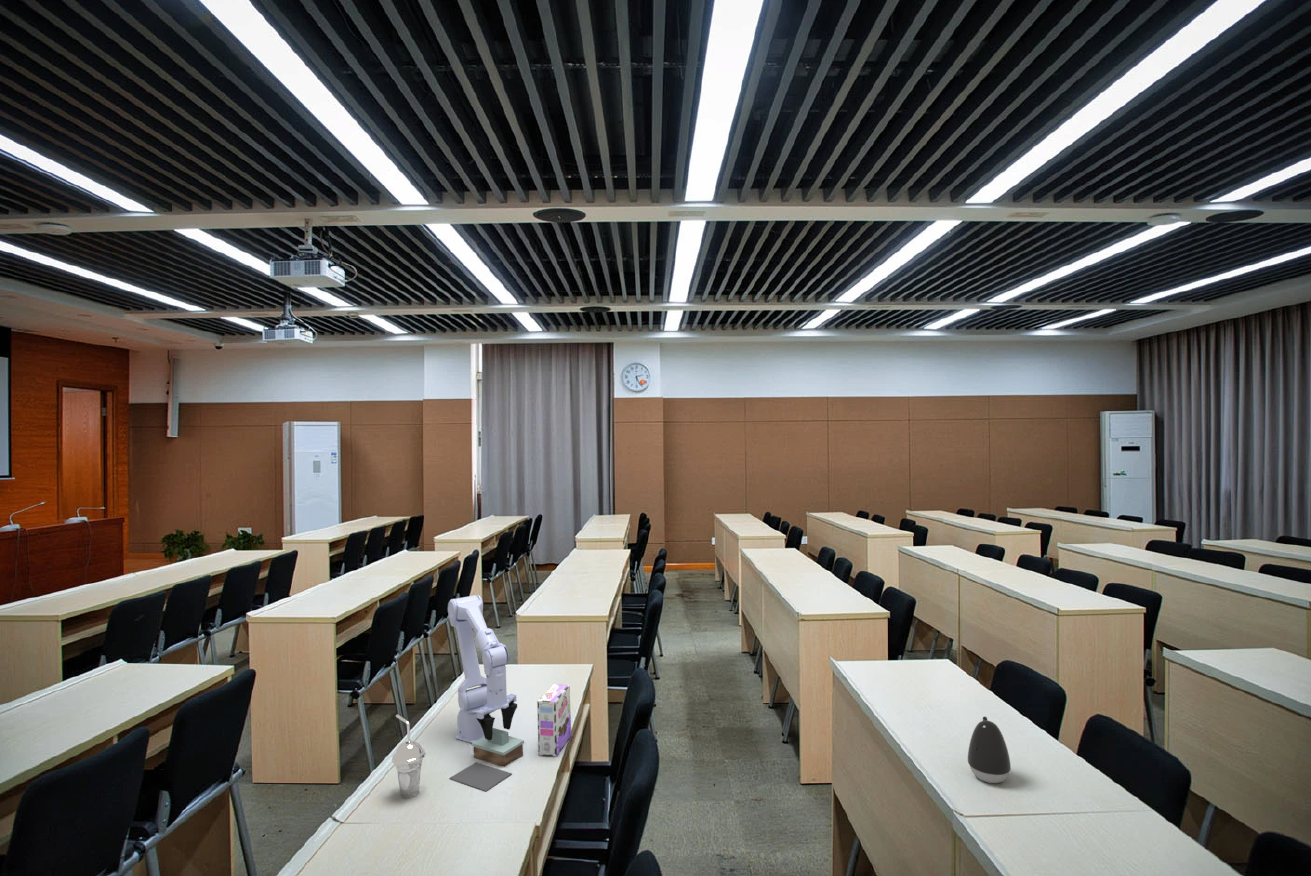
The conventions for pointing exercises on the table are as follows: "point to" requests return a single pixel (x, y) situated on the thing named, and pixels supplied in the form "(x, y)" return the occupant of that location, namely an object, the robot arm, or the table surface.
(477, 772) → the mat
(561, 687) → the candy box
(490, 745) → the lid
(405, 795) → the cup with straw
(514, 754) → the chalk box
